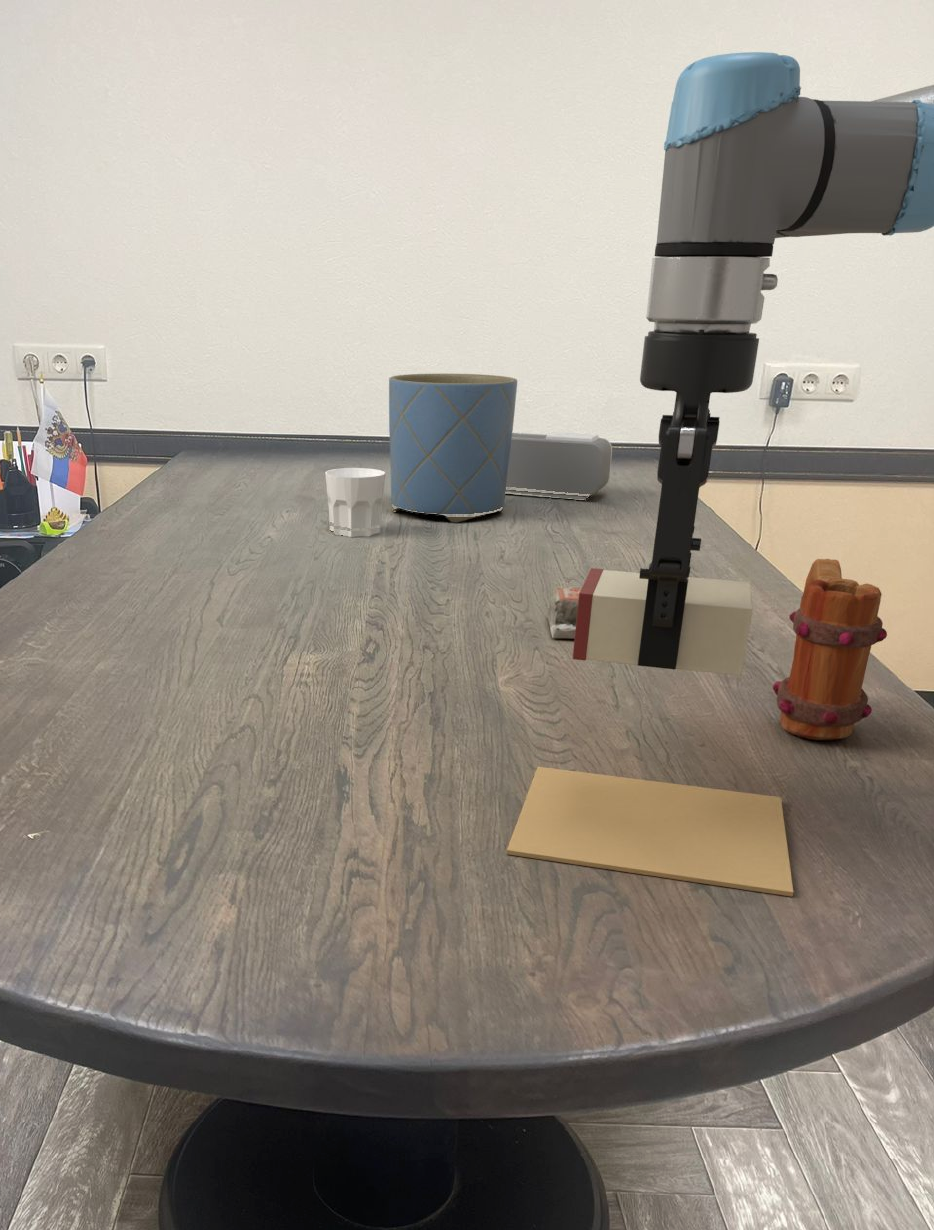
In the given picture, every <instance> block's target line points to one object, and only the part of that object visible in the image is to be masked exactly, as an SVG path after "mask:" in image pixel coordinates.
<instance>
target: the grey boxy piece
mask: <svg viewBox="0 0 934 1230" xmlns="http://www.w3.org/2000/svg"><path fill="white" fill-rule="evenodd" d="M581 589H582V588H569V587H568V588H567V587H561V588H560V587H559V588H556V589H555V590H554V592H553V594H552V596H551V597H550V600H549V604H548V607H547V620H548V624H549V628H550V634H551V638H552V639H570V640H574V639H575V629H576V619H577V610H578V600H579V593H580V591H581Z"/></svg>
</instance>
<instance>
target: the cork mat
mask: <svg viewBox="0 0 934 1230" xmlns="http://www.w3.org/2000/svg"><path fill="white" fill-rule="evenodd" d="M506 855H509V856H515V857H522V858H530V859H537V860H542V861H549V862H556V863H562V864H570V865H575V866H583V867H590V868H596V869H603V870H610V871H616V872H622V873H629V874H630V873H632V874H637V875H643V876H650V877H657V878H664V879H671V880H678V881H683V882H690V883H697V884H702V885H703V884H704V885H709V886H717V887H722V888H723V887H724V888H729V889H730V888H731V889H738V890H745V891H751V892H758V893H764V894H772V895H777V896H784V897H791V898H792V897H794V887H793V885H794V884H793V878H792V870H791V863H790V855H789V847H788V839H787V832H786V824H785V817H784V809H783V801H782V797H781V796H774V795H765V794H759V793H751V792H750V793H749V792H742V791H734V790H726V789H719V788H710V787H703V786H695V785H687V784H678V783H672V782H662V781H656V780H655V781H654V780H648V779H639V778H632V777H624V776H616V775H609V774H599V773H591V772H584V771H576V770H567V769H560V768H553V767H544V766H537V767H536V770H535V773H534V776H533V778H532V781H531V783H530V786H529V788H528V792H527V794H526V797H525V799H524V803H523V805H522V808H521V811H520V813H519V816H518V819H517V821H516V824H515V827H514V830H513V832H512V835H511V837H510V841H509V843H508V846H507V848H506Z"/></svg>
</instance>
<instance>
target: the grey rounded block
mask: <svg viewBox="0 0 934 1230" xmlns="http://www.w3.org/2000/svg"><path fill="white" fill-rule="evenodd" d="M612 456H613V446H612V443H611V442H610V441H609V439H607V438H604V437H599V435H598V434H591V433H589V434H588V433H574V432H573V433H570V432H557V431H556V432H555V431H553V432H551V433H549V434H546V433H545V434H544V433H530V432H528V433H527V432H521V433H520V432H512V440H511V448H510V455H509V464H508V473H507V482H506V487H516V488H527V489H536V490H546V491H555V492H565V493H567V492H568V493H579V494H590V495H591V494H593V495H594V494H596V493H598V492H599V491H600V490H602V489H603V488H604V487H606V485H607V484H608V483H609V480H610V476H611V467H612ZM505 492H511V493H521V494H532V495H543V496H551V497H559V498H572V499H584V500H585V499H586V498H587V497H588V496H578V495H566V494H553V493H541V492H528V491H516V490H506V491H505ZM590 495H589V496H590ZM585 501H586V500H585Z"/></svg>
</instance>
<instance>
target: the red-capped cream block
mask: <svg viewBox="0 0 934 1230" xmlns="http://www.w3.org/2000/svg"><path fill="white" fill-rule="evenodd" d="M639 576H640V572H634V571H633V572H632V571H619V570H610V569H604V568H595V567H594V568H592V567H591V568H590V569H589V571H588V574H587V576H586V578H585V580H584V582H583V585H582V587H581V588H580V589H581V591H580V593H579V600H578V610H577V619H576V629H575V639H573V640H574V641H573V642H574V643H573V648H572V649H573V650H572V660H577V661H586V660H587V661H596V662H605V663H615V664H624V665H634V666H635V665H636V666H638V658H639V650H640V642H641V634H642V626H643V618H644V610H645V602H646V594H647V586H648V579H639ZM687 579H688V586H687V593H686V600H685V607H684V614H683V621H682V628H681V635H680V642H679V649H678V657H677V664H676V669H675V670H682V671H691V672H692V671H693V672H701V673H702V672H703V673H712V674H722V675H731V676H742V675H743V669H744V663H745V658H746V657H745V656H746V651H747V645H748V640H749V634H750V628H751V623H752V616H753V611H754V607H753V597H752V586H751V582H750V581H743V580H731V579H721V578H720V579H718V578H706V577H695V576H689V577H688V578H687Z"/></svg>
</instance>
